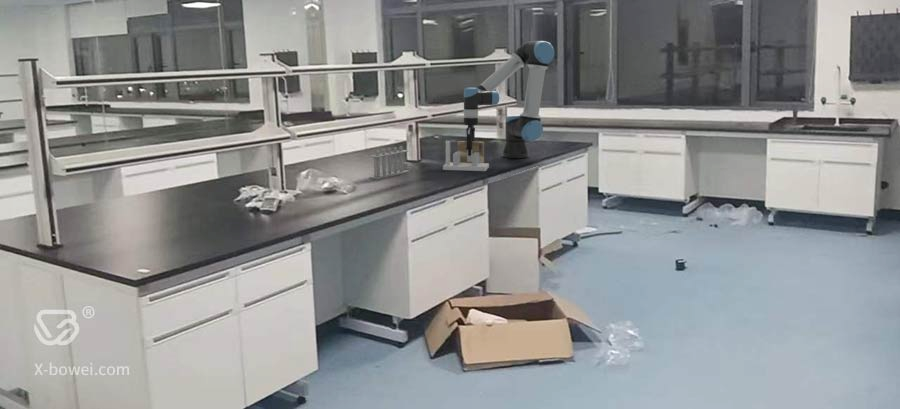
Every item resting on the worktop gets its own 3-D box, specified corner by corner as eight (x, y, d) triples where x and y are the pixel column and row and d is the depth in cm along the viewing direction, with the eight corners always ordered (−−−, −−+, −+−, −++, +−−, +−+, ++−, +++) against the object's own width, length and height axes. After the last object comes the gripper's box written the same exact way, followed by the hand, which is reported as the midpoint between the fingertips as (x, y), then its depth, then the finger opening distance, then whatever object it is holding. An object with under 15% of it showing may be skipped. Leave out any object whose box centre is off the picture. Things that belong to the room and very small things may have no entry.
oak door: (458, 163, 408) (458, 141, 405) (483, 164, 405) (484, 141, 403) (456, 164, 404) (457, 142, 402) (482, 165, 402) (483, 142, 399)
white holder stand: (447, 166, 398) (447, 139, 395) (488, 167, 395) (489, 140, 392) (442, 169, 387) (442, 142, 384) (485, 171, 383) (485, 143, 380)
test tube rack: (376, 179, 361) (376, 152, 358) (369, 178, 364) (369, 151, 361) (409, 172, 381) (408, 146, 378) (402, 171, 384) (402, 145, 381)
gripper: (466, 115, 409) (466, 158, 414) (460, 118, 392) (460, 163, 397) (480, 115, 408) (479, 158, 413) (475, 119, 391) (475, 163, 396)
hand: (470, 160), depth 405 cm, fingers open, 5 cm apart
